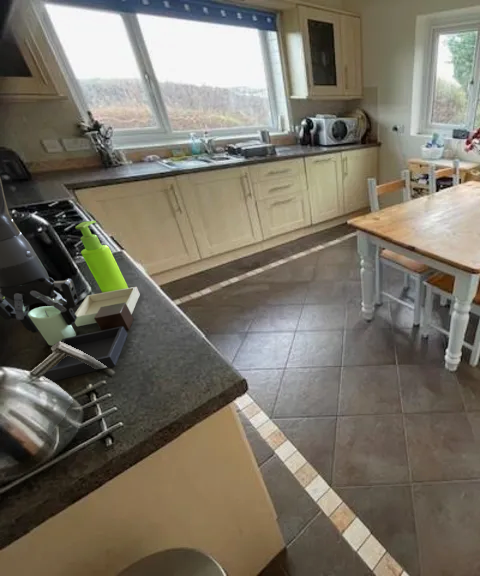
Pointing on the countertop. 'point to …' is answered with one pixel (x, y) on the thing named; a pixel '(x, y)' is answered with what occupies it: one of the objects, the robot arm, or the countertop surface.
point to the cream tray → (105, 303)
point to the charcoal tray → (90, 352)
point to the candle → (51, 324)
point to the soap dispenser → (100, 261)
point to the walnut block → (114, 317)
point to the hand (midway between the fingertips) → (54, 326)
